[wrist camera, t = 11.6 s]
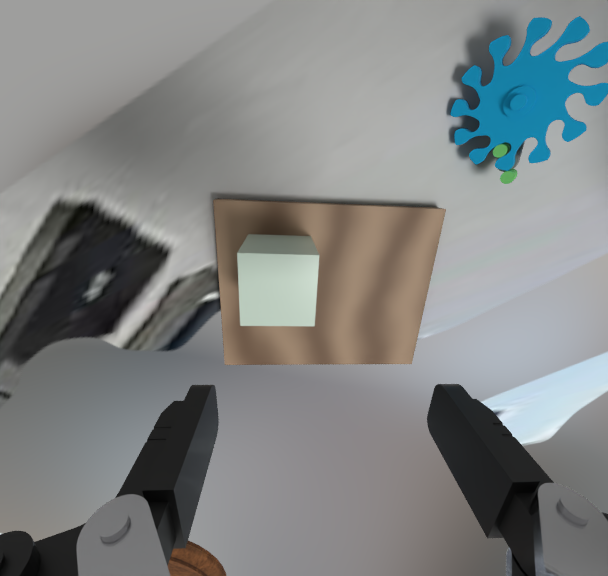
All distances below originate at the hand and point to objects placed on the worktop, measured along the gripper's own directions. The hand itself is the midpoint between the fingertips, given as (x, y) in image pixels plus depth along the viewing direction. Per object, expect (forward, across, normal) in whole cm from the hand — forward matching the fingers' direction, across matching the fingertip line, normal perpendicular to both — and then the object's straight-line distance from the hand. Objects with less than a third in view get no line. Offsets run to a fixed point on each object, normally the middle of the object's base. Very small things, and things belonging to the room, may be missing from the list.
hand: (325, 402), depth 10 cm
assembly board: (+21, -3, +4) cm, 21 cm away
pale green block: (+19, +2, +1) cm, 19 cm away
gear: (+21, -17, -13) cm, 30 cm away
